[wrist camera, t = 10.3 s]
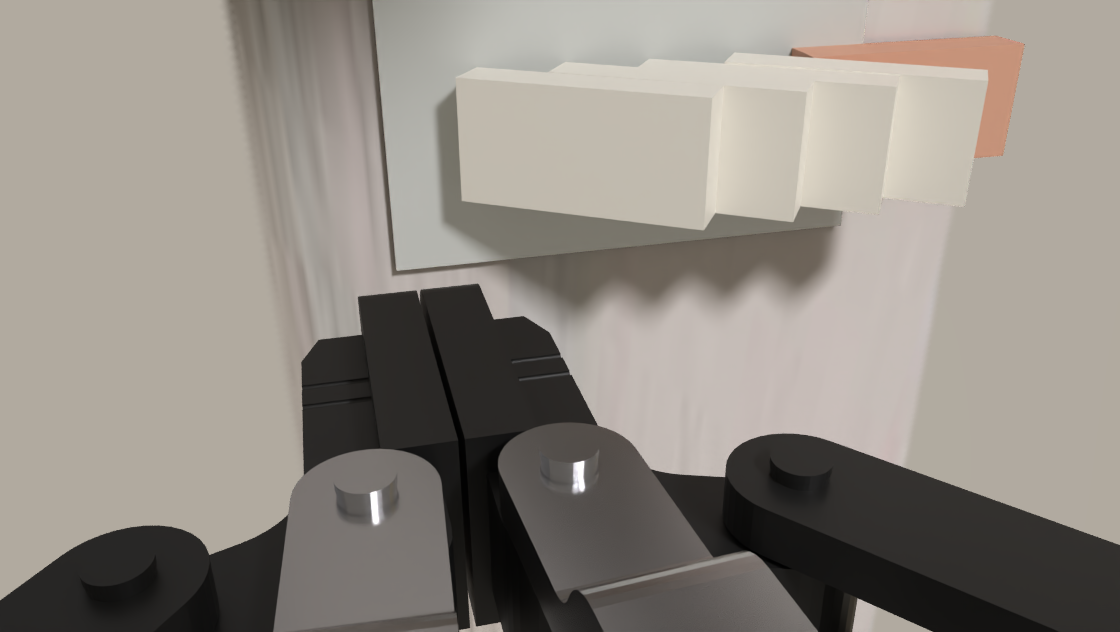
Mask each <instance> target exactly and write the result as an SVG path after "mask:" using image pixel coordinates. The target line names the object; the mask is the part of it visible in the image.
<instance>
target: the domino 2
mask: <svg viewBox="0 0 1120 632" xmlns="http://www.w3.org/2000/svg"><path fill="white" fill-rule="evenodd" d="M549 73H563V74H576V75H589V76H603V77H616V78H629V79H643V80H656V81H669V82H683V83H696V84H709V85H722V86H724V89H723V104H722V119H721V134H720V148H719V163H718V178H717V192H716V207H715V213H719V214H728V215H736V216H745V217H753V218H762V219H770V220H778V221H787V222H793V221H794V219H795V217H796V215H797V213H798V210H799V208H800V206H801V198H802V188H803V179H804V170H805V161H806V152H807V143H808V133H809V124H810V115H811V106H812V97H813V87H814V80H806V79H793V78H779V77H765V76H752V75H738V74H724V73H711V72H697V71H683V70H670V69H656V68H642V67H629V66H615V65H602V64H588V63H574V62H564V63H563V64H561V65H559V66H557V67H556V68H554V69H552V70H551V71H549Z"/></svg>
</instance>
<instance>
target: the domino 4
mask: <svg viewBox="0 0 1120 632" xmlns="http://www.w3.org/2000/svg"><path fill="white" fill-rule="evenodd" d="M724 64H738V65H753V66H768V67H783V68H798V69H813V70H828V71H843V72H858V73H873V74H888V75H900V80H899V87H898V94H897V101H896V108H895V115H894V122H893V129H892V137H891V144H890V151H889V158H888V165H887V172H886V179H885V186H884V193H883V198H888V199H897V200H906V201H915V202H924V203H933V204H942V205H951V206H960V207H965V202H966V197H967V192H968V186H969V181H970V176H971V171H972V165H973V160H974V155H975V149H976V144H977V139H978V133H979V128H980V123H981V117H982V112H983V107H984V101H985V96H986V91H987V85H988V70H983V69H968V68H954V67H939V66H925V65H910V64H896V63H881V62H867V61H852V60H838V59H823V58H809V57H794V56H780V55H765V54H751V53H736V52H734V53H733V54H732V55H731V56H730V57H729V58H728V59H727V60H726V61H725V62H724Z"/></svg>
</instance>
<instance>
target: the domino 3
mask: <svg viewBox="0 0 1120 632" xmlns="http://www.w3.org/2000/svg"><path fill="white" fill-rule="evenodd" d="M638 67H642V68H656V69H670V70H683V71H697V72H711V73H724V74H738V75H752V76H765V77H779V78H793V79H806V80H814V87H813V97H812V106H811V115H810V124H809V133H808V143H807V152H806V161H805V170H804V179H803V188H802V198H801V206H803V207H812V208H821V209H830V210H839V211H848V212H857V213H866V214H875V215H879V211H880V207H881V203H882V199H883V193H884V186H885V179H886V172H887V165H888V158H889V151H890V144H891V137H892V129H893V122H894V115H895V108H896V101H897V94H898V87H899V80H900V75H888V74H873V73H858V72H843V71H828V70H813V69H798V68H783V67H768V66H753V65H738V64H723V63H708V62H693V61H678V60H663V59H648V60H647V61H646V62H644V63H643V64H641V65H640V66H638Z"/></svg>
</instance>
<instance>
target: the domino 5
mask: <svg viewBox="0 0 1120 632" xmlns="http://www.w3.org/2000/svg"><path fill="white" fill-rule="evenodd" d="M1024 45H1025V44H1023V43H1020V42H1016V41H1013V40H1009V39H1006V38H1002V37H998V36H983V37H967V38H950V39H933V40H916V41H900V42H883V43H866V44H849V45H833V46H816V47H799V48H792V55H791V56H794V57H809V58H823V59H838V60H852V61H867V62H881V63H896V64H910V65H925V66H939V67H954V68H968V69H983V70H988V85H987V91H986V96H985V101H984V107H983V112H982V117H981V123H980V128H979V133H978V139H977V144H976V149H975V155H974V158H981V157H991V156H1002V155H1003V152H1004V147H1005V142H1006V137H1007V132H1008V127H1009V122H1010V117H1011V111H1012V106H1013V101H1014V96H1015V91H1016V85H1017V80H1018V76H1019V70H1020V65H1021V60H1022V55H1023V50H1024Z"/></svg>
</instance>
